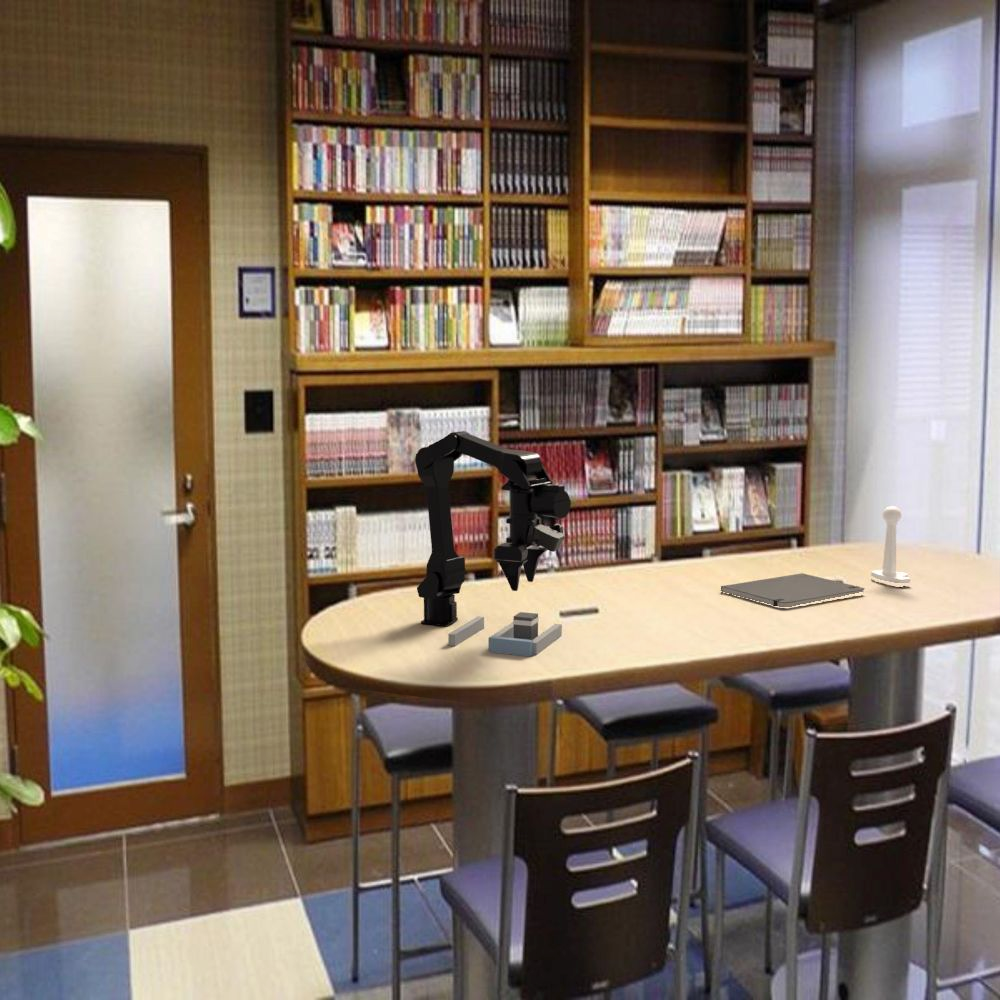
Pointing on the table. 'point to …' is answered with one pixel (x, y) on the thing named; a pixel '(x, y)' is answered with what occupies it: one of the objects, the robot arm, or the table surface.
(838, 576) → the table surface
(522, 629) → the grey capped block
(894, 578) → the joystick
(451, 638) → the grey rectangular bars
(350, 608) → the table surface
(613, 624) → the table surface
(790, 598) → the notebook
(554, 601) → the table surface
